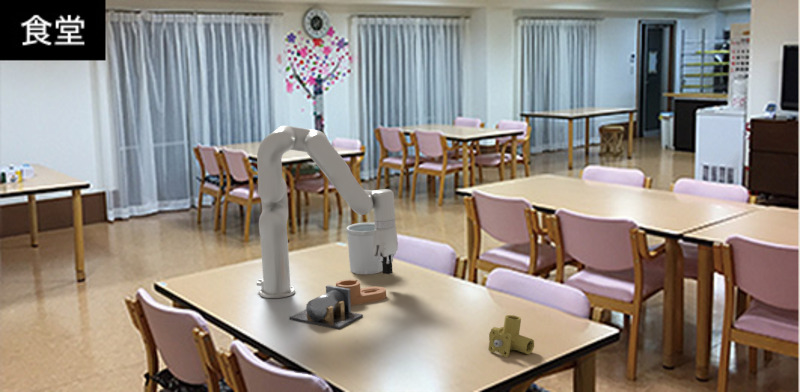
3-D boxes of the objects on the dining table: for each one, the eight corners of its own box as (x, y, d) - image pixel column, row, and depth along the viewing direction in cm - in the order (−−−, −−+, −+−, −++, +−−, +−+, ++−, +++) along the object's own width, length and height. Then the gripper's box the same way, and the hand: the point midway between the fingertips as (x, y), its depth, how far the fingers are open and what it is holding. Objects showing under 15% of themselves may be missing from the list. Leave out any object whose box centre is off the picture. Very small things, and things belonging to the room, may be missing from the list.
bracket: (342, 307, 270) (341, 287, 269) (333, 300, 277) (332, 281, 276) (390, 298, 278) (389, 279, 277) (380, 292, 285) (379, 274, 284)
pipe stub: (289, 319, 259) (288, 294, 258) (316, 306, 271) (314, 283, 269) (339, 329, 249) (338, 303, 247) (364, 315, 260) (363, 291, 259)
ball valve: (497, 344, 235) (477, 349, 227) (502, 310, 233) (482, 315, 226) (534, 357, 226) (514, 363, 219) (538, 322, 225) (519, 327, 218)
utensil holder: (371, 277, 304) (370, 232, 301) (340, 272, 312) (338, 228, 309) (393, 267, 316) (391, 224, 313) (362, 263, 324) (361, 221, 321)
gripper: (387, 218, 293) (390, 267, 297) (364, 227, 281) (367, 277, 284) (404, 220, 289) (407, 269, 293) (382, 229, 277) (385, 280, 280)
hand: (387, 273), depth 289 cm, fingers closed
